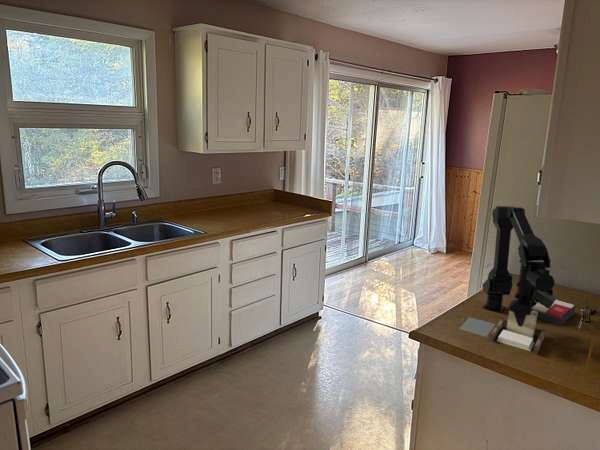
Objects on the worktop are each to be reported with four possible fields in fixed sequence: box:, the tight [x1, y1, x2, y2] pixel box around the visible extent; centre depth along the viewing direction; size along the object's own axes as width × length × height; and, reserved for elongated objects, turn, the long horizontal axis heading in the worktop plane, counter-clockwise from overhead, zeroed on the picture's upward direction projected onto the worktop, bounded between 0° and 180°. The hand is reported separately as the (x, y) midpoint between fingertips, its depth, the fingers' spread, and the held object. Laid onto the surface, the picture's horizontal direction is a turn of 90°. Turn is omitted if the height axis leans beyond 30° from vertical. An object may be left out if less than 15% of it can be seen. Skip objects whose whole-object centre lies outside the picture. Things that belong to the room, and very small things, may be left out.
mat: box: [459, 316, 496, 338], centre depth 159 cm, size 12×9×1 cm
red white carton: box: [532, 299, 576, 326], centre depth 172 cm, size 11×4×15 cm
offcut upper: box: [497, 329, 534, 351], centre depth 149 cm, size 6×9×1 cm
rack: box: [489, 318, 547, 356], centre depth 151 cm, size 15×14×3 cm
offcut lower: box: [496, 339, 536, 352], centre depth 149 cm, size 7×10×1 cm
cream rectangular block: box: [505, 309, 538, 339], centre depth 153 cm, size 4×8×9 cm, turn 54°
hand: (521, 324), depth 153 cm, fingers closed on cream rectangular block, 4 cm apart
